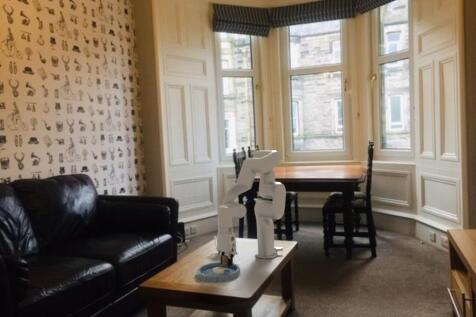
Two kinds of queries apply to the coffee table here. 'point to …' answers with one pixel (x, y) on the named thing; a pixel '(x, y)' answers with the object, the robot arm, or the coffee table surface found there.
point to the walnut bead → (225, 260)
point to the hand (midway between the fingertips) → (226, 264)
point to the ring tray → (218, 272)
